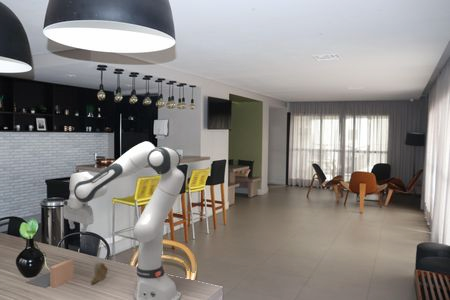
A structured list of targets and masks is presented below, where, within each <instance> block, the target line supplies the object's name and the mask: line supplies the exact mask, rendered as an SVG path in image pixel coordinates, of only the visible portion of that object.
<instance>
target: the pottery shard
mask: <svg viewBox="0 0 450 300" xmlns="http://www.w3.org/2000/svg"><path fill="white" fill-rule="evenodd" d="M93 267H94V269H95V271H94V275H93V277H92V279H91V280H90V284H92V285H93V284H95V283H97V282H99V281H102V280H104V279H105V278H106V277H107V274H108V272H109V271H108V269H109V268H108V267H107V266H106V264H105V263H104V262H98V263H96V264H95V265H94V266H93Z"/></svg>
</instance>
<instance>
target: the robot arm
mask: <svg viewBox="0 0 450 300" xmlns="http://www.w3.org/2000/svg"><path fill="white" fill-rule="evenodd" d="M180 163H181V155H180V153H179V152H178V151H177V150H175V149H172V148H169V147H161V146H158V147H156V146H155V145H154V144H153V143H152V142H150V141H143V142H141V143H138V144H137V145H135V146H133V147H131V148H129V150H127V151H126V152H125V153H123V154H121V156H120V157H119V158H117V159H116V160H115V161H114V162H113V163H111V164H110V165H108V167H106V168H104V169H103V170H102V171H100V172H98V173H97V174H96V175H92V174H90V172H88V171H87V170H81V171H74V172H73V173H71V175H70V179H69V197H68V199H65V200H62V204H63V207H62V208H63V209H62V210H63V211H62V213H63V214H62V215H63V219H65V220H68V224H69V228H70V230H73V229H75V227H76V224H74V223H79V224H81V225H82V228H81V230H80V232H82V233H86V232H87V228H88V226H89V225H93V224H94V222H95V221H94V211H93V208H92V207H91V205H89V202H90V201H92V200H96V199H98V198H101V197H103V196H104V195H105V194H106V193H107V191H108V184H110V183H112V182H113V181H115V180H118V179H120V178H124V177H128V176H132V175H134V174H136V173H139V171H141V170H143V169H144V168H145V167H146V166H148V165H149V166H150V168H151V169H153V170H154V171H155V173H156V174H158V175H160V179H159V181H158V183H157V185H156V187H155V189H154V190H153V193H152V195H151V197H150V199H149V201H148V203H147V204H146V206H145V207H144V209H143V211H142V213H141V215H140V216H139V218H138V220H137V222H136V224H135V225H134V229H133V236H134V238H135V239H136V240H137V241H139V244H138V249H137V266H136V276H137V280H136V287H135V291H134V295H133V297H134V298H135V300H180V299H181V298H182V292H180V291H178V290H177V286H176V282H174V281H173V280H172V279H171V278H170V277H169V276H168V275H167V274H166V273H165V271H166V270H167V267H164V266H163V264H162V247H163V239H164V229H165V221H166V219H167V218H168V216H169V215H170V212H171V210H172V209H173V207H174V206H175V205H174V204H175V203H176V200H177V199H178V197H179V195H180V192H181V190H182V187H183V184H184V182H185V174H184V173H183V171H182V170H180V169H179V168H178V167H179V166H180Z"/></svg>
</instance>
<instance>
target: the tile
mask: <svg viewBox="0 0 450 300" xmlns="http://www.w3.org/2000/svg"><path fill="white" fill-rule="evenodd" d="M49 272H50V286H49V287H51V288H54V289H55V288H57V287H60V286H61V285H64V284H65V283H67V282H69V281H72V280H74V279H75V278H74V260H73V259H67V260H64V261H61V262H59V263H57V264H54V265H52V266H50V267H49Z"/></svg>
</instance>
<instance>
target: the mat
mask: <svg viewBox="0 0 450 300" xmlns="http://www.w3.org/2000/svg"><path fill="white" fill-rule="evenodd" d="M25 283H26V284H30V285H34V286H36V287H37V286H38V287H41V288H45V289H46V288H48V287H50V271H49V272H47V273H44V274H42V275H39V276H37V277H34V278H33V279H30V280H26V281H25Z"/></svg>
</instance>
